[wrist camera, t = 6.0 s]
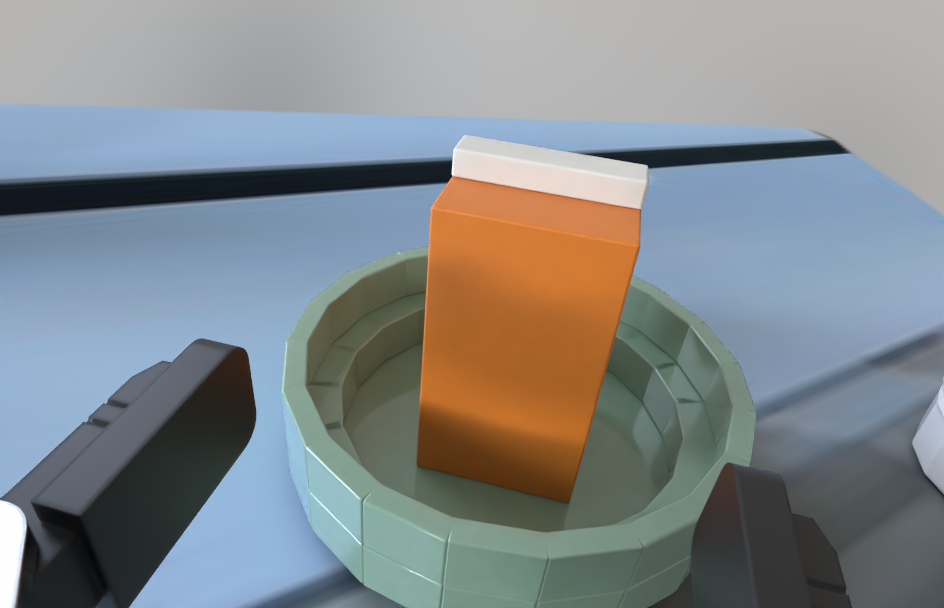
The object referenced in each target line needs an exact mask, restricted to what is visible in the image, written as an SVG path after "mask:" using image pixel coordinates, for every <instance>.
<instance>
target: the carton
mask: <svg viewBox="0 0 944 608" xmlns="http://www.w3.org/2000/svg"><path fill="white" fill-rule="evenodd" d="M452 176H453V177H452V178H451V179H450V181H449V182H448V184H447V185H446V187H445V188H444V190H443V191H442V192H441V194H440V195H439V197H438V198H437V200H436V201H435V203H434V204H433V205H432V207H431V217H430V234H429V252H428V269H427V286H426V304H425V321H424V339H423V356H422V373H421V391H420V408H419V426H418V443H417V460H416V465H417V466H420V467H424V468H428V469H432V470H436V471H440V472H444V473H448V474H452V475H456V476H460V477H464V478H468V479H472V480H476V481H480V482H484V483H488V484H492V485H496V486H500V487H504V488H508V489H512V490H516V491H520V492H524V493H528V494H532V495H536V496H540V497H545V498H549V499H553V500H557V501H561V502H565V503H569V502H570V500H571V497H572V493H573V489H574V486H575V482H576V478H577V475H578V471H579V468H580V464H581V460H582V457H583V453H584V449H585V446H586V442H587V438H588V435H589V431H590V427H591V424H592V420H593V417H594V413H595V409H596V406H597V402H598V398H599V395H600V391H601V387H602V384H603V380H604V376H605V373H606V369H607V366H608V362H609V358H610V355H611V351H612V347H613V344H614V340H615V336H616V333H617V329H618V325H619V322H620V318H621V315H622V311H623V307H624V304H625V300H626V296H627V293H628V289H629V285H630V282H631V278H632V274H633V271H634V267H635V264H636V260H637V256H638V253H639V249H640V226H641V208H642V206H643V203H644V199H645V195H646V191H647V188H648V184H649V175H648V166H646V165H641V164H635V163H630V162H624V161H618V160H612V159H606V158H600V157H594V156H588V155H582V154H576V153H570V152H564V151H558V150H552V149H546V148H541V147H535V146H529V145H523V144H517V143H511V142H505V141H499V140H493V139H487V138H481V137H475V136H469V135H464V136H463V138H462V139H461V140H460V141H459V143H458V144H457V145H456V147H455V148H454V150H453V162H452Z"/></svg>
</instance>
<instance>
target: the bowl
mask: <svg viewBox="0 0 944 608" xmlns="http://www.w3.org/2000/svg"><path fill="white" fill-rule="evenodd" d="M428 252H429V246H427V247H422V248H416V249H411V250H405V251H400V252H397V253H393V254H391V255H388V256H386V257H383V258H381V259H378V260H376V261H373V262H371V263H368V264H366V265H363V266H361V267H359V268H356V269H354V270H351V271H348V272H347V273H346V274H344V275H343V276H342V277H341V278H339V279H338V280H337V281H335V282H334V283H333V284H331V285H330V286H329V287H327V288H326V289H325V290H323V291H322V292H321V293H319V294H318V295H317V296H316V297H314V298H313V299H312V300H311V301H310V302H309V304H308V305H307V307H306V309H305V310H304V312H303V314H302V315H301V317H300V318H299V320H298V322H297V323H296V325H295V326H294V328H293V330H292V331H291V333H290V334H289V336H288V338H287V339H286V343H285V352H284V363H283V374H282V386H281V394H282V403H283V412H284V421H285V430H286V440H287V449H288V458H289V467H290V473H291V477H292V479H293V482H294V484H295V487H296V490H297V492H298V495H299V497H300V500H301V503H302V505H303V508H304V511H305V513H306V516H307V518H308V521H309V524H310V526H311V528H312V529H313V532H314V533H315V534H316V535H317V536H318V537H319V538H320V539H321V540H322V541H323V543H324V544H325V545H326V546H327V547H328V548H329V549H330V550H331V551H332V552H333V553H334V554H335V555H336V556H337V557H338V559H339V560H340V561H341V562H342V563H343V564H344V565H345V566H346V567H347V568H348V569H349V570H350V571H351V572H352V574H353V575H354V576H355V577H356V578H357V579H358V580H359V581H360V582H361V583H362V584H364V586H366V587H368V588H370V589H372V590H374V591H376V592H377V593H379V594H381V595H383V596H385V597H387V598H389V599H391V600H393V601H395V602H396V603H398V604H400V605H402V606H404V607H406V608H648V607H650V606H651V605H653V604H655V603H657V602H658V601H660V600H662V599H664V598H666V597H667V596H669V595H671V594H673V593H674V592H675V590H677V589H678V588H679V587H680V585H681V584H682V583H683V581H684V580H685V579H686V577H687V576H688V574H689V573H690V572H691V562H690V559H691V545H692V538H693V534H694V530H695V526H696V524H697V521H698V519H699V517H700V515H701V512H702V510H703V508H704V506H705V504H706V502H707V500H708V497H709V495H710V493H711V491H712V489H713V487H714V485H715V482H716V480H717V478H718V476H719V474H720V472H721V470H722V468H723V466H724V465H725V464H726V463H728V462H729V463H734V464H738V465H742V466H747V467H750V464H751V457H752V449H753V441H754V433H755V425H756V417H757V415H756V409H755V406H754V404H753V401H752V398H751V395H750V392H749V390H748V387H747V384H746V381H745V378H744V376H743V373H742V370H741V367H740V365H738V362H737V361H736V359H735V358H734V357H733V356H732V354H731V353H730V352H729V351H728V350H727V348H726V347H725V346H724V345H723V343H722V342H721V341H720V340H719V339H718V337H717V336H716V335H715V334H714V332H713V331H712V330H711V329H710V328H709V326H708V325H707V324H705V322H704V321H703V320H701V319H700V318H699V317H697V316H696V315H695V314H693V313H692V312H691V311H689V310H688V309H686V308H685V307H684V306H682V305H681V304H680V303H678V302H677V301H676V300H674V299H673V298H672V297H670V296H669V295H668V294H666V293H665V292H664V291H661V289H659V288H657V287H655V286H653V285H651V284H649V283H647V282H645V281H643V280H641V279H639V278H636V277H634V276H632V278H631V282H630V285H629V289H628V293H627V296H626V300H625V304H624V307H623V311H622V315H621V318H620V322H619V325H618V329H617V333H616V336H615V340H614V344H613V347H612V351H611V355H610V358H609V362H608V366H607V369H606V373H605V376H604V380H603V384H602V387H601V391H600V395H599V398H598V402H597V406H596V409H595V413H594V417H593V420H592V424H591V427H590V431H589V435H588V438H587V442H586V446H585V449H584V453H583V457H582V460H581V464H580V468H579V471H578V475H577V478H576V482H575V486H574V489H573V493H572V497H571V500H570V502H569V503H565V502H561V501H557V500H553V499H549V498H545V497H540V496H536V495H532V494H528V493H524V492H520V491H516V490H512V489H508V488H504V487H500V486H496V485H492V484H488V483H484V482H480V481H476V480H472V479H468V478H464V477H460V476H456V475H452V474H448V473H444V472H440V471H436V470H432V469H428V468H424V467H420V466H417V465H416V460H417V443H418V426H419V408H420V391H421V373H422V356H423V339H424V321H425V304H426V286H427V269H428Z"/></svg>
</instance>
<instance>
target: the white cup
mask: <svg viewBox="0 0 944 608" xmlns="http://www.w3.org/2000/svg"><path fill="white" fill-rule="evenodd" d="M912 445H913V447H914V450H915V452H916V455H917V457H918V460H919V462H920V465H921V467H922V469H923V472H924V474H925V475H926V476H927V477H928V478H929V479H930V480H931V481H932V482H933V483H934V484H935V485H936V487H937V488H938V489H939V490H940V491H941V492H942V493H943V494H944V376H943V385H942V386H941V388H940V390H939V392H938V394H937V395H936V397H935V399H934V400H933V402H932V404H931V405H930V407H929V408H928V410H927V412H926V413H925V415H924V417H923V418H922V420H921V422H920V424H919V427H918V429H917V432H916V434H915V436H914V439H913V441H912Z"/></svg>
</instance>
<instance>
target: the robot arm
mask: <svg viewBox="0 0 944 608" xmlns="http://www.w3.org/2000/svg"><path fill="white" fill-rule="evenodd" d="M255 422H256V407H255V400H254V393H253V386H252V379H251V372H250V365H249V358H248V354H247V352H246V351H245V349H243V348H241V347H237V346H233V345H228V344H224V343H220V342H215V341H211V340H207V339H197V340H195V341H194V342H192V343H191V344H190V345H189V346H188V347H187V348H186V349H185V350H184V351H183V352H182V353H181V354H180V355H179V356H178V357H177V358H176V359H175V360H174V361H173V362H172V363H171V362H167V361H161V362H159V363H157V364H156V365H154V366H152V367H150V368H148V369H146V370H144V371H142V372H140V373H138V374H137V375H135V376H133V377H131V378H130V379H129V380H128V381H127V382H126V383H125V384H124V385H123V386H122V387H120V388H119V389H118V390H117V391H116V392H115V393H114V394H113V395H112V396H111V397H110V398H109V399H108V402H107V404H104V403H103V404H102V405H101V406H100V407H99V408H98V409H97V410H96V411H95V412H94V413H93V414H92V415H90V416H89V419H88V421H87V422H86V423H85V422H83V423H82V424H81V425H80V426H79V427H78V428H76V429H75V430H74V431H73V432H72V433H71V434H70V435H69V436H68V437H67V438H66V439H65V440H64V441H63V442H61V443H60V444H59V445H58V446H57V447H56V448H55V449H54V450H53V451H52V452H51V453H50V454H49V455H48V456H46V457H45V458H44V459H43V460H42V461H41V462H40V463H39V464H38V465H37V466H36V467H35V468H34V469H33V470H31V471H30V472H29V473H28V474H27V475H26V476H25V477H24V478H23V479H22V480H21V481H20V482H19V483H18V484H16V485H15V486H14V487H13V488H12V489H11V490H10V491H9V492H8V493H6V494H5V495H4V496H3V497H2V498H0V608H129V606H130V605H131V604H132V602H133V601H134V600H135V598H136V597H137V595H138V594H139V593H140V591H141V590H142V589H143V587H144V586H145V585H146V583H147V582H148V580H149V579H150V578H151V576H152V575H153V574H154V572H155V571H156V569H157V568H158V567H159V565H160V564H161V563H162V561H163V560H164V559H165V557H166V556H167V554H168V553H169V552H170V550H171V549H172V548H173V546H174V545H175V543H176V542H177V541H178V539H179V538H180V537H181V535H182V534H183V532H184V531H185V530H186V528H187V527H188V526H189V524H190V523H191V522H192V520H193V519H194V517H195V516H196V515H197V513H198V512H199V511H200V509H201V508H202V506H203V505H204V504H205V502H206V501H207V500H208V498H209V497H210V496H211V494H212V493H213V491H214V490H215V489H216V487H217V486H218V485H219V483H220V482H221V480H222V479H223V478H224V476H225V475H226V474H227V472H228V471H229V469H230V468H231V467H232V465H233V464H234V463H235V461H236V460H237V459H238V457H239V456H240V454H241V453H242V452H243V450H244V449H245V447H246V446H247V444H248V442H249V441H250V438H251V436H252V433H253V430H254V427H255ZM690 562H691V580H692V596H693V608H852V606H851V602H850V599H849V596H848V595H846V589H847V588H846V585H845V581H844V578H843V574H842V570H841V567H840V563H839V560H838V556H837V553H836V551H835V550H834V548H833V547H832V545H831V544H830V543H829V541H828V540H827V538H826V537H825V535H824V534H823V532H822V531H821V530H820V528H819V527H818V525H817V524H816V522H815V521H814V519H813V518H809V517H805V516H801V515H796V514H792V513H791V509H790V504H789V500H788V496H787V491H786V487H785V483H784V480H783V478H782V477H781V475H779V474H777V473H772V472H768V471H764V470H759V469H755V468H751V467H747V466H742V465H738V464H734V463H729V462H728V463H726V464H725V465H724V466H723V468H722V470H721V472H720V474H719V476H718V478H717V480H716V482H715V485H714V487H713V489H712V491H711V493H710V495H709V497H708V500H707V502H706V504H705V506H704V508H703V510H702V512H701V515H700V517H699V519H698V521H697V524H696V526H695V530H694V534H693V538H692V545H691V559H690Z"/></svg>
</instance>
